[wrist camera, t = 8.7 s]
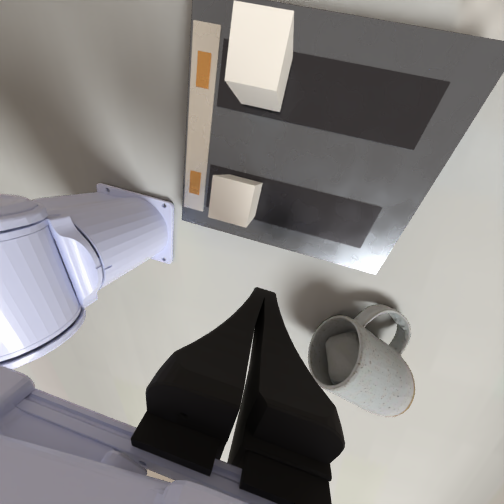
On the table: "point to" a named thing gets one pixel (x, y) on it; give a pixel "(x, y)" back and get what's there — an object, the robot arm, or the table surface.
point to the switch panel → (333, 128)
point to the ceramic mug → (363, 362)
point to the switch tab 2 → (234, 199)
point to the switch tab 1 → (259, 54)
